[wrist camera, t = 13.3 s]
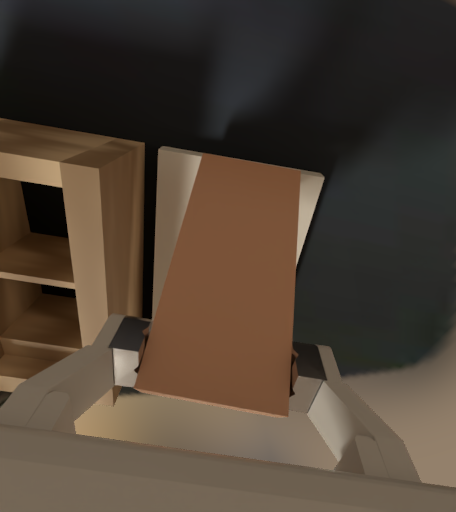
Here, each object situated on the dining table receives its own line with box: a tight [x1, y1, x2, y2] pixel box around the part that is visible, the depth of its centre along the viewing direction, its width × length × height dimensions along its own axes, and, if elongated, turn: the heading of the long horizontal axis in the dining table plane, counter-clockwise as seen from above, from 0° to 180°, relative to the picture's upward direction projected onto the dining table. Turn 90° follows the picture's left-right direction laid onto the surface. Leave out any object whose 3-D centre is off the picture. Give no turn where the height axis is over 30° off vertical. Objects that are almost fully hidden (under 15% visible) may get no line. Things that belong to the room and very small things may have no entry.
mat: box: [152, 146, 324, 321], centre depth 20 cm, size 9×14×1 cm, turn 171°
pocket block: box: [0, 118, 145, 406], centre depth 17 cm, size 9×15×6 cm, turn 171°
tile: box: [134, 153, 301, 418], centre depth 13 cm, size 5×11×3 cm
